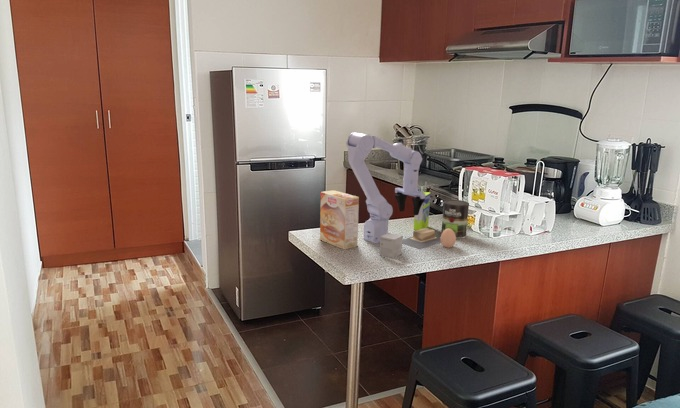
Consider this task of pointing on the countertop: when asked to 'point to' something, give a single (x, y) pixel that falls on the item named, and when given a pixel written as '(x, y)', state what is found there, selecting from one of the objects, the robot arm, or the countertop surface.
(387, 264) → the countertop surface
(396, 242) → the product box
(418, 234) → the card box
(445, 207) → the coffee can
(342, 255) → the countertop surface
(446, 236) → the egg
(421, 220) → the box
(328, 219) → the coffeecake box
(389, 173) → the countertop surface
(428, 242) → the mat
